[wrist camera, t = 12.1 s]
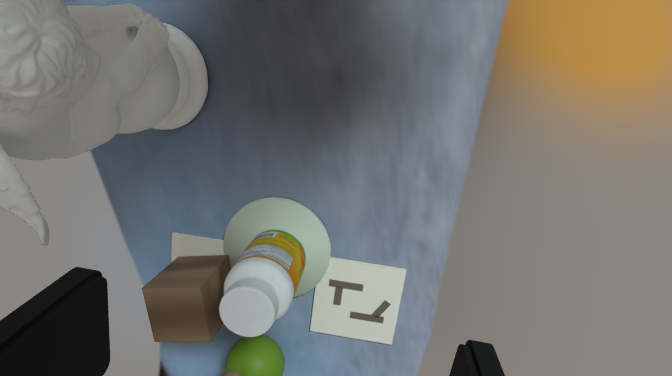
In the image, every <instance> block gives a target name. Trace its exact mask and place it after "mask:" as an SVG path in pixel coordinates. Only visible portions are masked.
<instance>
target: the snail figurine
mask: <svg viewBox="0 0 672 376" xmlns="http://www.w3.org/2000/svg"><path fill="white" fill-rule="evenodd" d="M225 372H226V373H224V374H223V375H221V376H282V375H283V372H284V356H283V353H282V350H281V348H280V347H279V345H278V344H277V343H276V342H275V341H274V340H273V339H271V338H269V337H267V336H264V335H259V336H256V337H245V338H243V339H241V340H240V341H238V342H237V343H236V344H235V345H234V346H233V347H232V349H231V350H230V352H229V354H228V357H227V360H226V365H225Z"/></svg>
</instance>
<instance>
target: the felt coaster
mask: <svg viewBox="0 0 672 376" xmlns="http://www.w3.org/2000/svg"><path fill="white" fill-rule="evenodd" d="M275 228H276V229H284V230H287V231H289V232H291V233H293V234H294V235H295V236H296V237H298V238H299V240H300V241H301V242H302V244H303V246H304V248H305V251H306V264H305V268H304V271H303V273H302V276H301V279H300V282H299V285H298V287H297V290H296V292H295V295H294V297H297V296H300V295H302V294H305V293H307V292H308V291H310V290H311V289H313V288H314V287H315V286H316V285H317V284H318V283H319V282H320V281H321V280H322V278H323V277H324V275H325V273H326V271H327V269H328V266H329V262H330V258H331V243H330V239H329V235H328V233H327V230H326V228H325V226H324V224H323V223H322V222H321V220H320V219H319V218H318V217H317V215H316V214H315V213H314V212H312V211H311V210H310V209H309V208H307V207H306V206H304V205H303V204H301V203H299V202H296V201H294V200H291V199H287V198H282V197H266V198H261V199H258V200H254V201H252V202H250V203H248V204H247V205H245V206H243V207H242V208H241V209H240V210H239V211H238V212H237V213H236V214H235V215H234V216H233V217H232V219H231V220H230V222H229V224H228V226H227V228H226V231H225V234H224V241H223V249H224V255H229V261H230V267H231V268H232V267H233V265H234V264H235V263H236V261H237V260H238V259H239V257H240V256H241V255H242V253H243V252H244V251H245V249H246V248H247V247H248V245H249V244H250V242H251V241H252V240H253V239H254V238H255V237H256V236H257V235H258V234H259V233H261V232H262V231H265V230H268V229H275Z"/></svg>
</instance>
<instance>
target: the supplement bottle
mask: <svg viewBox="0 0 672 376" xmlns="http://www.w3.org/2000/svg"><path fill="white" fill-rule="evenodd" d="M305 264H306V251H305V248H304V246H303V244H302V242H301V241H300V240H299V238H298V237H296V236H295V235H294V234H293V233H291V232H289V231H287V230H284V229H276V228H275V229H268V230H265V231H262V232H261V233H259V234H258V235H257V236H256V237H255V238H254V239H253V240H252V241H251V242H250V244H249V245H248V247H247V248H246V249H245V251H244V252H243V253H242V255H241V256H240V257H239V259H238V260H237V261H236V263H235V264H234V265H233V267H232V268H231V270H230V271H229V273H228V275H227V277H226V279H225V282H224V296H223V298H222V299H221V302H220V306H219V313H220V317H221V319H222V321H223V323H224V324H225V326H226V327H227V328H228V329H229V330H230V331H232V332H233V333H235V334H237V335H240V336H244V337H256V336H259V335H262V334H264V333H265V332H267V331H268V330H269V329H270V328H271V326H272V325H273V322H274V321H275V320H277V319H279V318H280V317H282V316H283V315H284V314H285V313H286V312H287V310H288V309H289V307H290V305H291V303H292V301H293V298H294V295H295V292H296V290H297V287H298V285H299V282H300V279H301V276H302V273H303V271H304V268H305Z"/></svg>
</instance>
